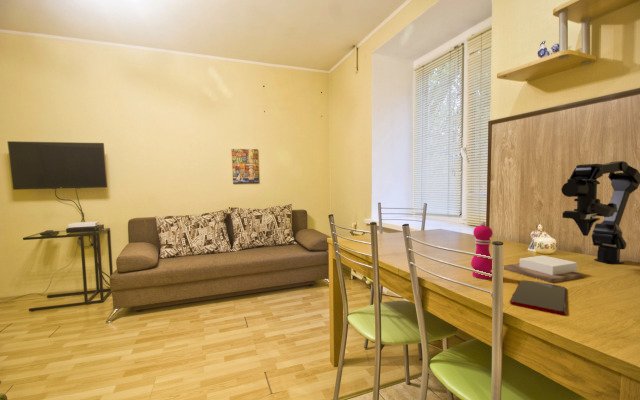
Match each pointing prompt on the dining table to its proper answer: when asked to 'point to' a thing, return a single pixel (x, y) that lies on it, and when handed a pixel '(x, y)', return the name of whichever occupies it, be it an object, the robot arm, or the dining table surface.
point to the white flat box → (548, 265)
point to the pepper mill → (482, 250)
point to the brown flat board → (542, 274)
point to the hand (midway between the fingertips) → (585, 235)
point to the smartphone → (540, 297)
